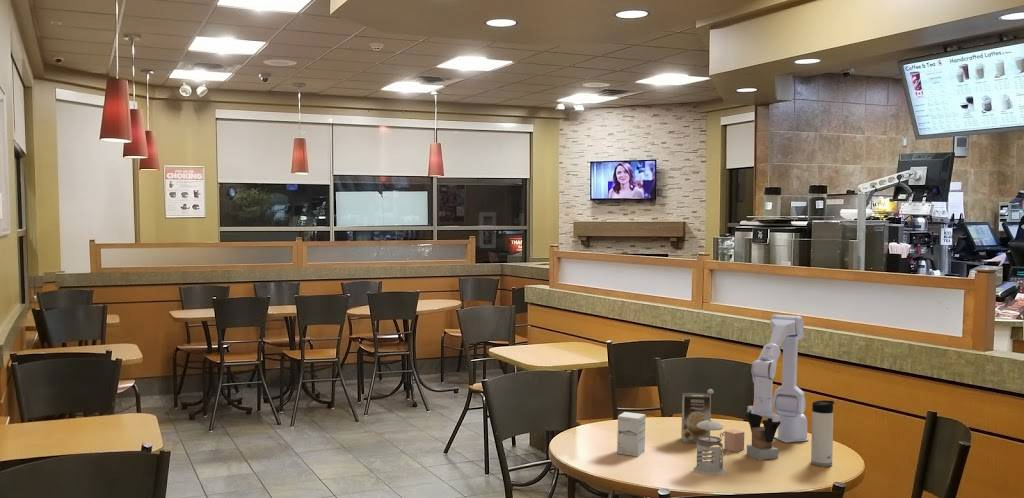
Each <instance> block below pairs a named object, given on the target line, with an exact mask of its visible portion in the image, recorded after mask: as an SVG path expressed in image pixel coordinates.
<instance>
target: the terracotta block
mask: <svg viewBox="0 0 1024 498" xmlns="http://www.w3.org/2000/svg"><path fill="white" fill-rule="evenodd" d="M724 432H725V433H726V434H727V435H728V436H729V437H730V439H731V442H730V439H729V437H728V436H727V435H726V434H725V433H724V435H725V436H726V437H727V439H728V441H729V451H730V448H731V451H730V452H739V451H744V450H745V431H742V430H739V429H735V428H733V429H727V430H724ZM725 436H724V443H723V444H724V445H723V449H724V450H727V451H728V441H727V439H726V437H725ZM731 443H732V445H731Z"/></svg>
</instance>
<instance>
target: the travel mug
mask: <svg viewBox="0 0 1024 498" xmlns="http://www.w3.org/2000/svg"><path fill="white" fill-rule="evenodd" d="M811 405H812V408H811V411H812V413H811V446H810V448H811V453H810V457H811V458H810V462H811V464H812V465H813V466H817V467H823V466H824V467H826V466H827V467H830V466H832V465H833V453H834V452H833V447H834V446H833V444H834V443H833V442H834V440H833V439H834V438H833V437H834V405H835V401H834V400H817V401H816V400H815V401H813V402H812V403H811Z"/></svg>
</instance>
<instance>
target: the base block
mask: <svg viewBox="0 0 1024 498" xmlns="http://www.w3.org/2000/svg"><path fill="white" fill-rule="evenodd" d="M746 455H748V456H750V457H751V458H753V459H756V460H759V461H764V460H774V459H779V448H777V447H774V446H773V445H772V448H769V449H758V448H756V447H753V446H752V444H746Z"/></svg>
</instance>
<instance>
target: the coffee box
mask: <svg viewBox="0 0 1024 498" xmlns="http://www.w3.org/2000/svg"><path fill="white" fill-rule="evenodd" d="M681 407H682V408H681V436H680V437H681V441H682V442H683V443H692V444H697V442H699V440H698V437H700V436H709V434H710V435H711V430H703V429H700V428H698V427H697V424H698V423H699V422H702V421H706V420H711V414H710V394H709V393H701V392H700V393H697V392H682V403H681Z"/></svg>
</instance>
